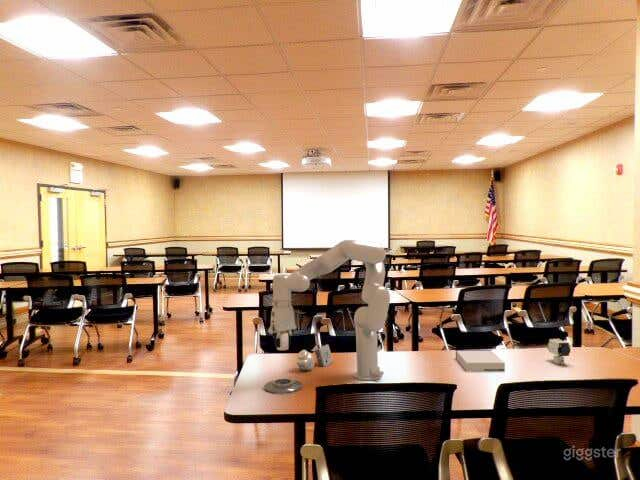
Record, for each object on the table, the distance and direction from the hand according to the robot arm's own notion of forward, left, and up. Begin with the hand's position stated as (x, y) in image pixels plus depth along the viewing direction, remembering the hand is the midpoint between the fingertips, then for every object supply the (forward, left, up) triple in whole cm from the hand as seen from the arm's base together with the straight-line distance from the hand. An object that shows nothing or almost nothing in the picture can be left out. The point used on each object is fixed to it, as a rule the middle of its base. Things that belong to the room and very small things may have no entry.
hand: (282, 345), depth 203 cm
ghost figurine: (+12, -22, -18) cm, 31 cm away
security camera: (-69, -113, -18) cm, 134 cm away
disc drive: (-43, -86, -19) cm, 98 cm away
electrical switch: (+13, -35, -18) cm, 42 cm away
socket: (0, +1, -18) cm, 18 cm away
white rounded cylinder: (0, 0, -1) cm, 1 cm away
